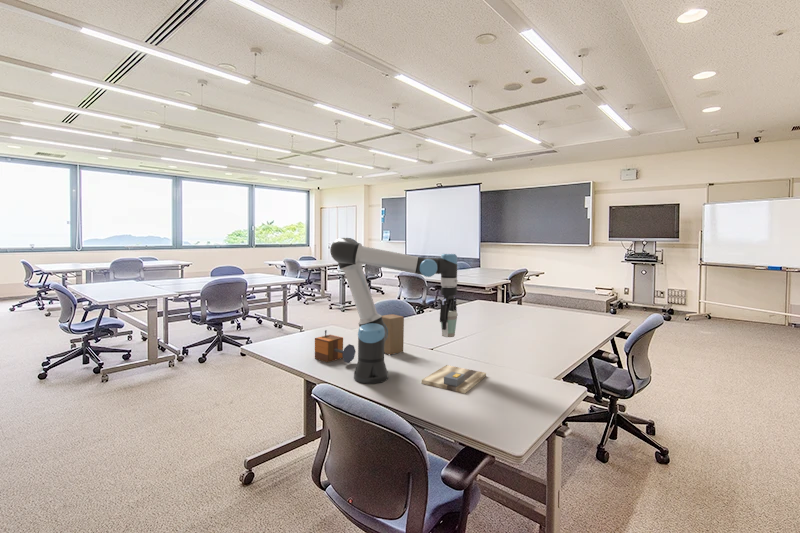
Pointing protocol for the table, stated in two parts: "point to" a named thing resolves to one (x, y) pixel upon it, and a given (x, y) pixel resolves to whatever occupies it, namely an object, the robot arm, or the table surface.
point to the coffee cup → (451, 323)
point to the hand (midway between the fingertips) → (448, 334)
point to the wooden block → (394, 333)
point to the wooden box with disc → (333, 349)
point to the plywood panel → (470, 375)
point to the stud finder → (454, 379)
